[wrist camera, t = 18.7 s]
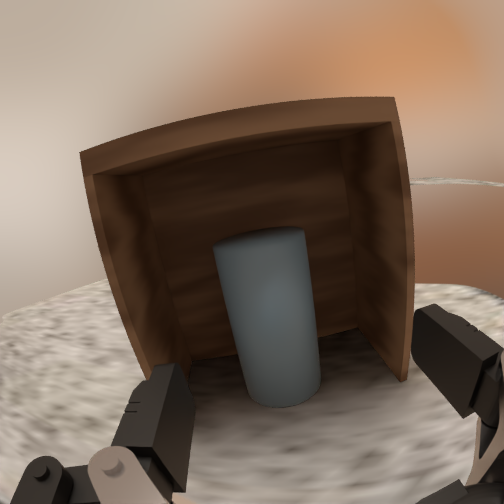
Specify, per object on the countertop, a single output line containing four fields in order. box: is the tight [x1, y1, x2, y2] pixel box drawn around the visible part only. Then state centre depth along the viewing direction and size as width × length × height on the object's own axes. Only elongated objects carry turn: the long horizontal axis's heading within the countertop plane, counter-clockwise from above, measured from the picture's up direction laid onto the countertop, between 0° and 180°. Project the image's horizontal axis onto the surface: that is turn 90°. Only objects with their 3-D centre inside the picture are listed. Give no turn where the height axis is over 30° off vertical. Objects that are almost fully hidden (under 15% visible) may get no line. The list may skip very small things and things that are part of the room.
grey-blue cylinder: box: [213, 226, 321, 408], centre depth 21 cm, size 6×6×12 cm
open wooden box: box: [79, 97, 415, 383], centre depth 21 cm, size 10×18×20 cm, turn 93°
